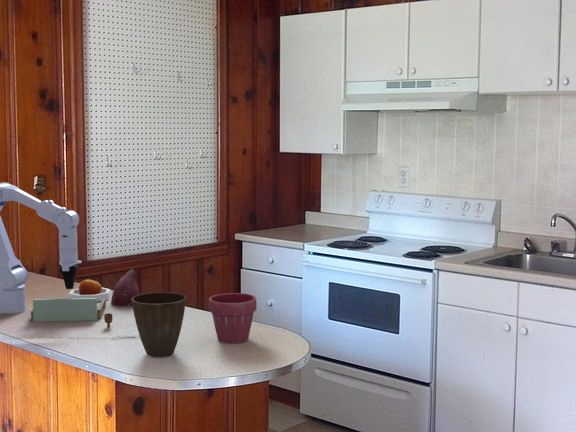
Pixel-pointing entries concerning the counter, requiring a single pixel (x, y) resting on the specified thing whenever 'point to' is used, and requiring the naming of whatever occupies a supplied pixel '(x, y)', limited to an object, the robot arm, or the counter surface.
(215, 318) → the plant pot
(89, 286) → the fruit
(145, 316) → the plant pot
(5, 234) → the robot arm
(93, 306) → the panel
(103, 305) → the tan lipped tray
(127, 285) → the vegetable
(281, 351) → the counter surface
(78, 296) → the fruit dish
